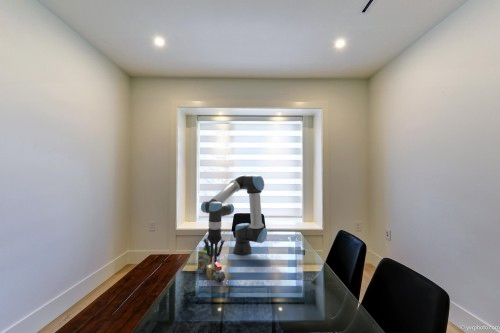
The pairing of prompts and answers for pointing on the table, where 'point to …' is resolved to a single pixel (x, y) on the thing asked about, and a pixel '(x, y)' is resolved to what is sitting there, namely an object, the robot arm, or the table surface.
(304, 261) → the table surface
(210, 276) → the valve
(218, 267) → the lever
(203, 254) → the chalk box
